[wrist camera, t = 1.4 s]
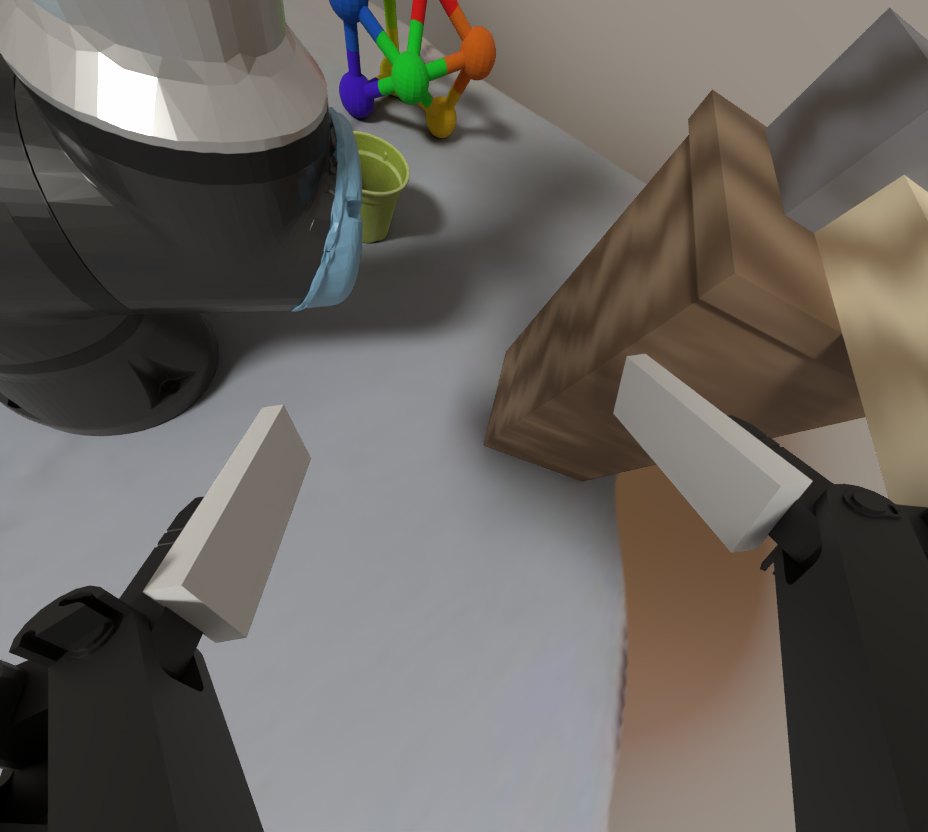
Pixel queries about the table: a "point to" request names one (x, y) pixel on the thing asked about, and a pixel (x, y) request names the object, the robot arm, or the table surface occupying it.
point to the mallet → (871, 228)
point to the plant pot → (379, 184)
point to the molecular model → (411, 62)
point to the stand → (683, 312)
